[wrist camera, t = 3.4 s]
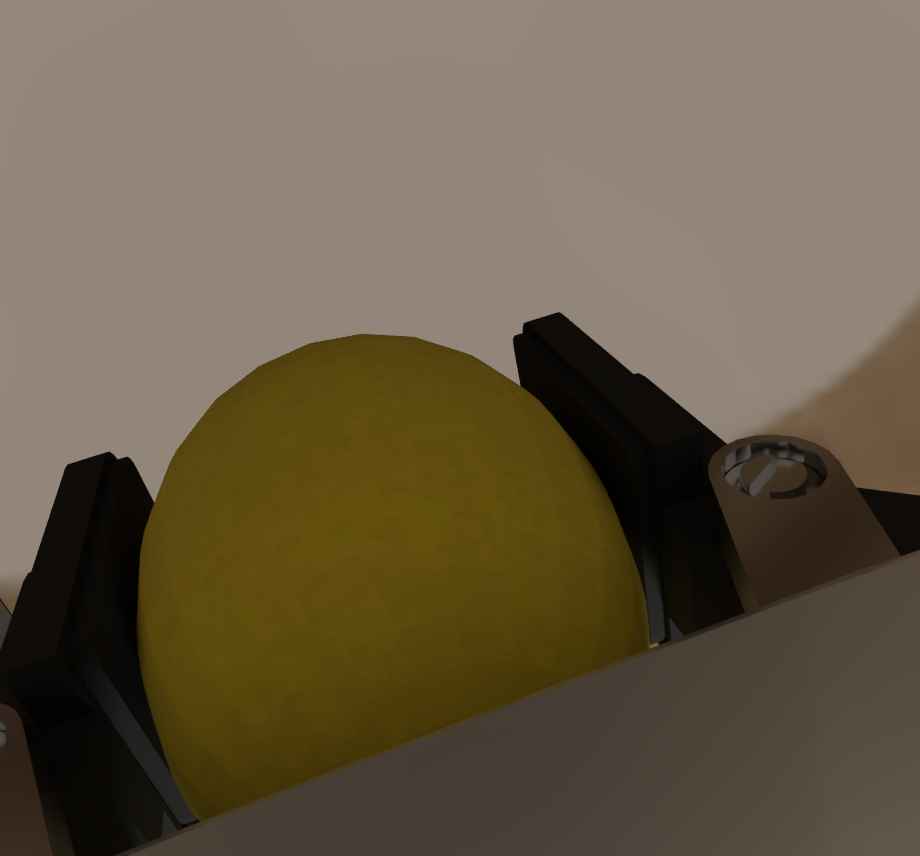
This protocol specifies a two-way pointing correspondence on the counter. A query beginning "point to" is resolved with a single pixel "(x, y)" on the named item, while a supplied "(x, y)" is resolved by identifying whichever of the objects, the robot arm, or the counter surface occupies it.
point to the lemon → (368, 565)
